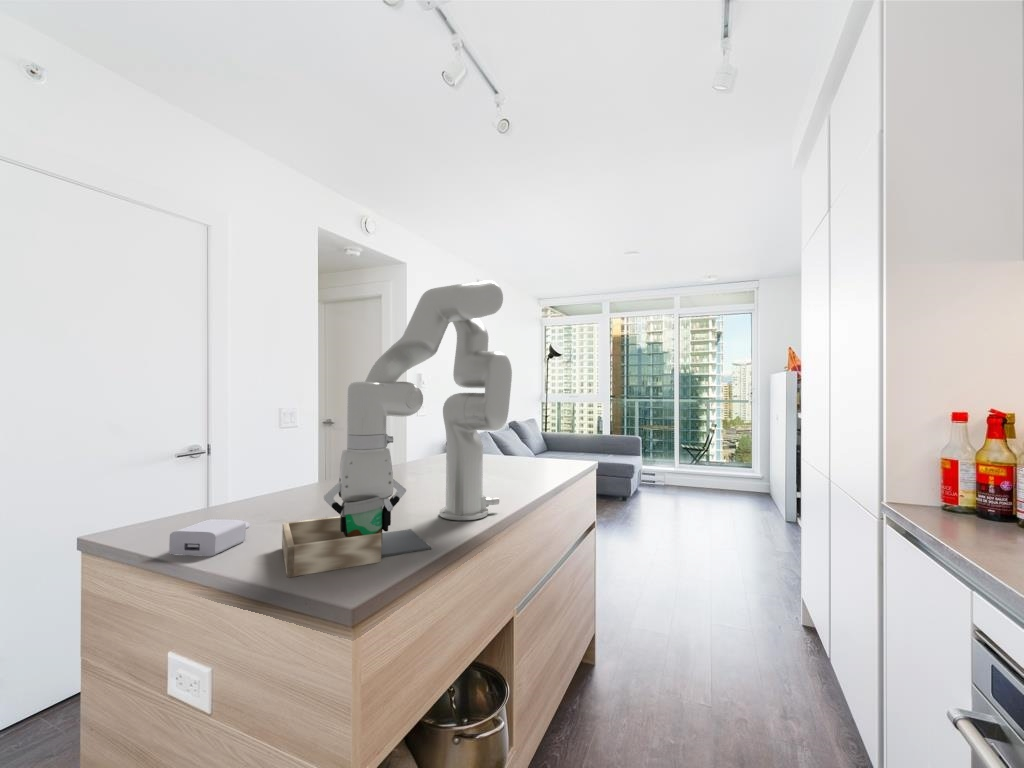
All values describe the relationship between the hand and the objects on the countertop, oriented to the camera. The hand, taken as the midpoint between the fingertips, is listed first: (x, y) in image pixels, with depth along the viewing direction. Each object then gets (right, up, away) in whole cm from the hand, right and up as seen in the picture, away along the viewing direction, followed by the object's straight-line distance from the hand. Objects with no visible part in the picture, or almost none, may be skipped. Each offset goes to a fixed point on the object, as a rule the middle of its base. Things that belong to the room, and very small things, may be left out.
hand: (365, 531), depth 90 cm
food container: (+1, -3, 0) cm, 3 cm away
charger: (-31, -4, +3) cm, 31 cm away
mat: (+5, -4, +4) cm, 7 cm away
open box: (-6, -3, -4) cm, 8 cm away
